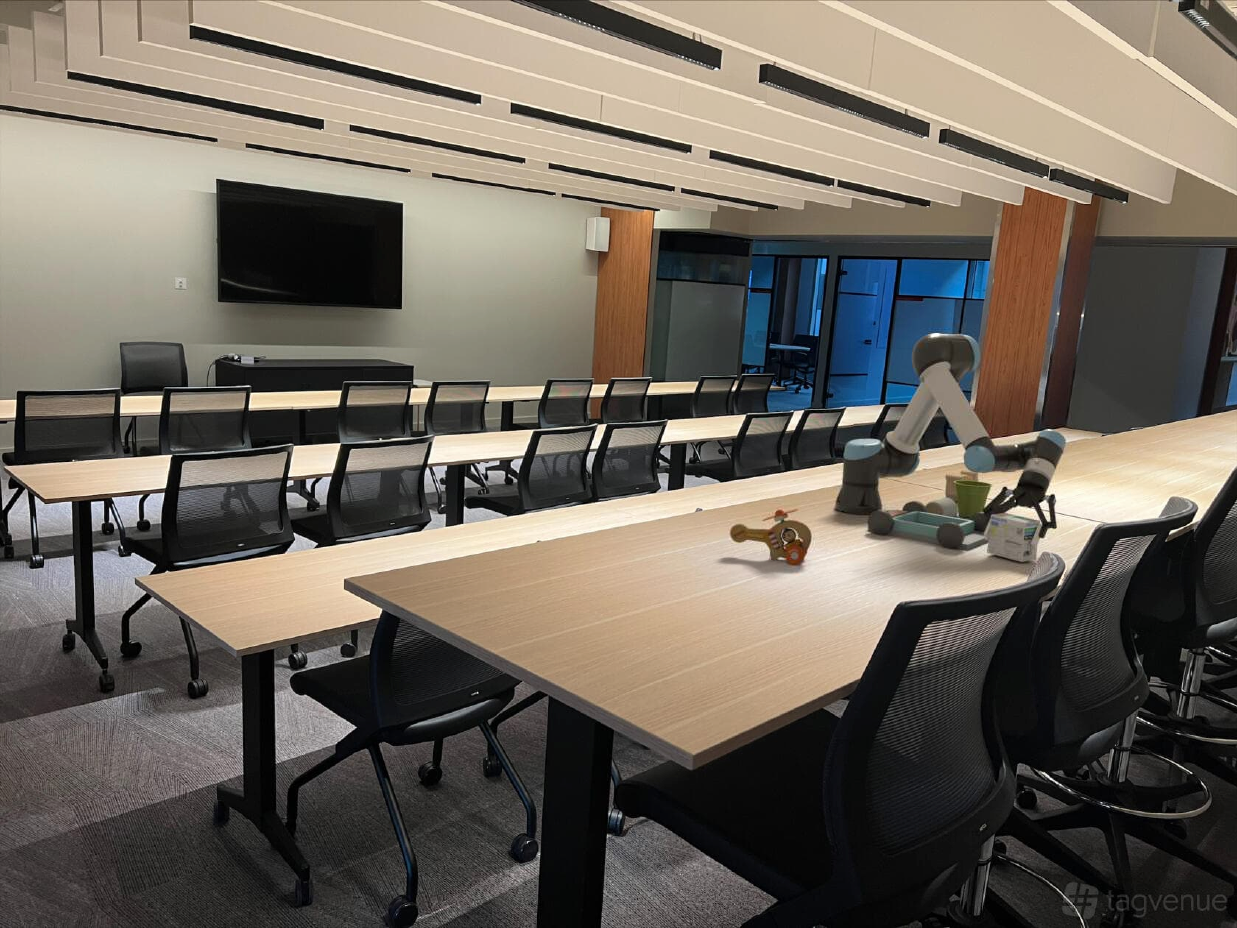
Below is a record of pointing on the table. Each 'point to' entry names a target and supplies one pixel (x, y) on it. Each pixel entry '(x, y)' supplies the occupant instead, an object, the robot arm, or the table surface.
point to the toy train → (953, 477)
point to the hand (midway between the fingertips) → (1009, 541)
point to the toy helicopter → (778, 537)
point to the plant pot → (971, 496)
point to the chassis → (929, 526)
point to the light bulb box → (1012, 537)
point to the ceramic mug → (943, 507)
